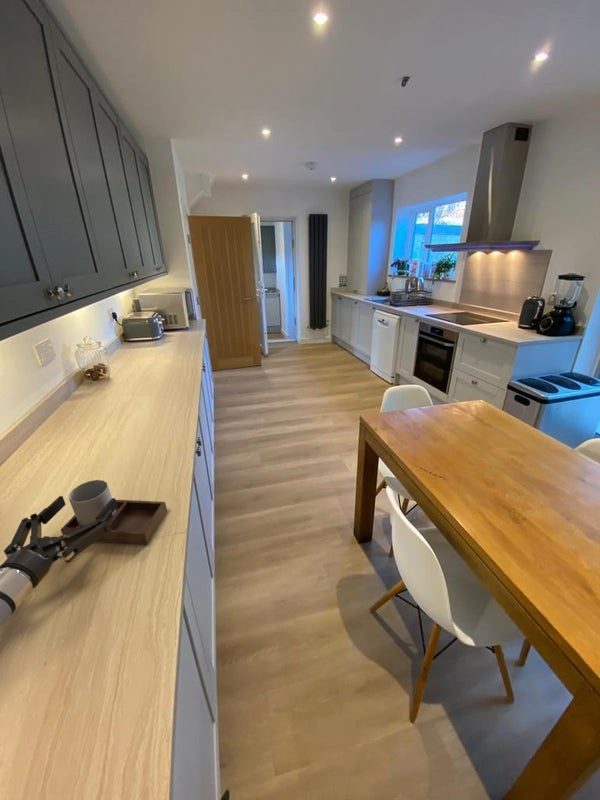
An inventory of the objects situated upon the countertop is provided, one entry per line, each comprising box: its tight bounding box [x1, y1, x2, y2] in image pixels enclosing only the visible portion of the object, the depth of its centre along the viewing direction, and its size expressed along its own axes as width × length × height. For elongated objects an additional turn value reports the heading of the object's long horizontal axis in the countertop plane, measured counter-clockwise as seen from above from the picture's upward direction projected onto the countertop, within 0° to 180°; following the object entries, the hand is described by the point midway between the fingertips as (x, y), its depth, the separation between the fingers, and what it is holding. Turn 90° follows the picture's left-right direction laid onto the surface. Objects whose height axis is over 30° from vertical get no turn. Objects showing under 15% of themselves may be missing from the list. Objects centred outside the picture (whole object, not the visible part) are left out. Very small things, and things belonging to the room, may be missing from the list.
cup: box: [68, 479, 116, 528], centre depth 82 cm, size 8×8×10 cm
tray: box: [60, 499, 168, 545], centre depth 84 cm, size 21×11×4 cm, turn 86°
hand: (88, 501), depth 81 cm, fingers open, 13 cm apart
